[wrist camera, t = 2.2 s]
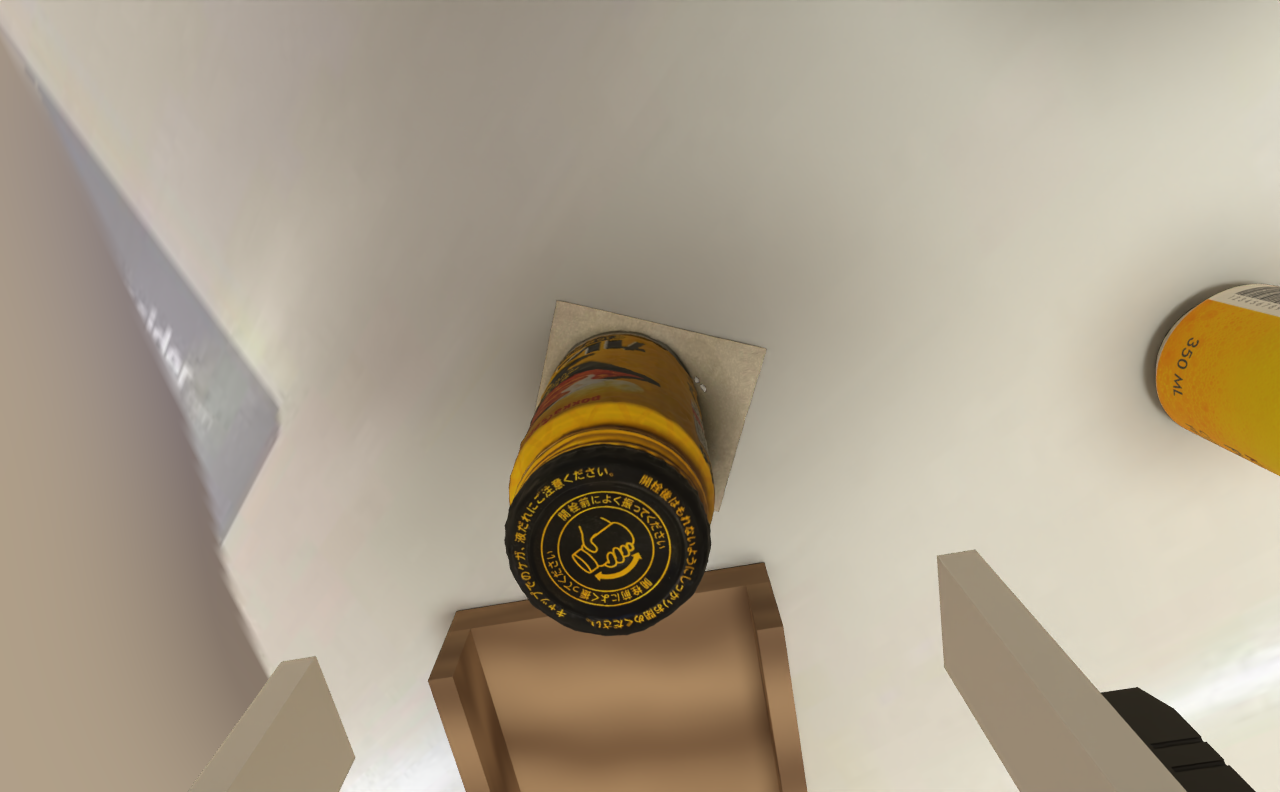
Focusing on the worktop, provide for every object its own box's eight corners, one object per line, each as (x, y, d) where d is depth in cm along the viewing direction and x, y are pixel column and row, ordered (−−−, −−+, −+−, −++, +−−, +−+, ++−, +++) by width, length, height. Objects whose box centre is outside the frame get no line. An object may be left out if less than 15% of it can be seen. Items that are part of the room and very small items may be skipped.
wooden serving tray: (456, 611, 32) (420, 699, 27) (764, 562, 31) (788, 643, 26) (528, 839, 37) (509, 953, 31) (800, 802, 36) (827, 913, 30)
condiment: (557, 299, 28) (495, 397, 16) (766, 347, 28) (848, 475, 17) (524, 466, 30) (450, 654, 19) (717, 508, 31) (761, 715, 19)
